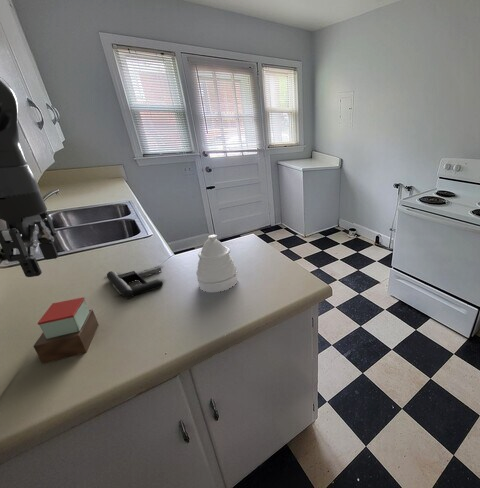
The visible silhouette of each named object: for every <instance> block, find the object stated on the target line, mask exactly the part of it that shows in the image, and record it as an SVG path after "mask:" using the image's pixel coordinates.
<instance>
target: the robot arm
mask: <svg viewBox="0 0 480 488" xmlns="http://www.w3.org/2000/svg"><path fill="white" fill-rule="evenodd" d="M19 131H20V130H19V104H18V100H17V96H16V94H15V91H14V90H13V89H12V87H11V86H10V85H9V83H8V82H7V81H6V80H5V79H4V78H2V77H1V76H0V220H1V221H4V222H5V226H6V229H0V246H1V249H2V252H3V254H4V256H5V259H6V261H7V262H9V263H11V262H18V263H19V265H20V267H21V269H22V272H23V274H24V276H25V277H26V278H34V277H40V276H41V274H42V273H43V271H42V269H41V267H40V265H39V262H38V260H37V258H36V257H35V249H36V248H37V247H39V249H40V251H41V254H42V256H43V258H44V260H46V261H48V260H55V259H58V257H59V253H58V251H57V248H56V246H55V243H54V242H55V237H57V231H56V229H55V227H54V224H53V222H52V220H51V217H50V215H49V213H48V211H47V210H48V208H47V205H46V202H45V200H44V197H43V195H42V192H41V190H40V187H39V185H38V182H37V179H36V177H35V175H34V173H33V172H32V170H31V168H30V166H29V164H28V161H27V159H26V157H25V154H24V151H23V147H22V146H21V142H20V135H19V134H20V132H19Z"/></svg>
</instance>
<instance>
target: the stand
mask: <svg viewBox="0 0 480 488" xmlns="http://www.w3.org/2000/svg"><path fill="white" fill-rule="evenodd" d="M89 312H90V313H89V314H88V316H87V318H86V320H85V322H84V324H83V326H82V328H81V330H80V331H78V332H74V333H70V334H65V335H61V336H57V337H53V338H49V339H46V337H45V335H44V333H43V332H42V333H41V334H40V336H39V337H38V339H37V340H36V341H35V343H34V344H33V348H34V351H35V352H36V354H37V356H38V358H39V360H40V362H41V363H42V364H46V363H47V364H48V363H51V362H55V361H59V360H63V359H66V358H70V357H75V356H78V355H81V354H85V353H87V352H88V350H89V348H90V346H91V343H92V341H93V338H94V336H95V334H96V332H97V330H98V328H99V326H100V325H99V322H98V319H97V317H96V314H95V312H94V309H89Z"/></svg>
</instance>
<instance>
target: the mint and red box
mask: <svg viewBox="0 0 480 488" xmlns="http://www.w3.org/2000/svg"><path fill="white" fill-rule="evenodd" d="M89 310H90V309H89V307H88V305H87V302H86V300H85V296H83V297H77V298H73V299H67V300H61V301H58V302H53V303H51V304H50V306H49V307H48V308H47V310H46V311H45V312H44V314H43V315H42V316H41V318H40V319H39V320H38V322H37V325H38V326H39V328H40V329H41V331H42V333H44V335H45V337H46V339H49V338H53V337H57V336H61V335H65V334H70V333H74V332H78V331H80V330H81V328H82V326H83V324H84V322H85V320H86V318H87V316H88V314H89V313H90V312H89Z"/></svg>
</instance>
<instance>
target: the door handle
mask: <svg viewBox="0 0 480 488" xmlns="http://www.w3.org/2000/svg"><path fill="white" fill-rule="evenodd" d="M159 271H161V272H162V267H160V266H159V265H158V266H155V267H152V268H148V269H144V270H141V271H137V272H136V271H135V270H132V271H128V272H125V273H120V274H118V273H117V272H116V271H114V270H113V271H112V270H111V271H110V270H109V271H108V272H107V273H106V277H105V279H108V281H109V282H110V283H111V284H112V287H113V288H114V289H115V290H116V291H117V294H119V297H121V296H122V297H123V298H125V299H131V298H133V297H134V296H136V295H140V294H143V293H145V292H146V293H147V292H149V291H152V290H154V289H157V288H161V287H163V285H164V283H163V280H161V279H154V280H150V281H146V280H145V279H143V278H144V276H145V277H148V276H151V275H154V274H153V273H155V274H157V273H156V272H158V273H160V272H159ZM150 274H151V275H150ZM147 275H148V276H147ZM135 280H138V282H139V281H140V282H139V283H141V284H139V283H136V284H135V285H133V286H130V285H129V284H130V283H129V282H131V283H133V282H132V281H134V282H136V281H135ZM127 283H128V284H127Z"/></svg>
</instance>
